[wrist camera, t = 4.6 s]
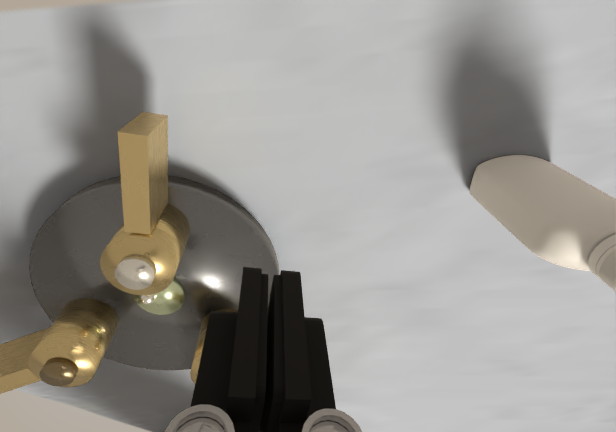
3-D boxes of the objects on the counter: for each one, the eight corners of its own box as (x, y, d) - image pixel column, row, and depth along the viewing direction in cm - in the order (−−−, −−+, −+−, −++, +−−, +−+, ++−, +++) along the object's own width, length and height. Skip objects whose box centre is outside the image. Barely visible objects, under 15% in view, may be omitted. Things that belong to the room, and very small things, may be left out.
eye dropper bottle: (513, 220, 26) (672, 361, 16) (456, 185, 24) (593, 318, 14) (561, 170, 24) (775, 291, 14) (503, 129, 23) (700, 233, 12)
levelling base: (324, 259, 26) (328, 282, 24) (202, 379, 32) (197, 406, 29) (111, 120, 20) (91, 133, 18) (5, 296, 26) (-20, 323, 23)
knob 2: (189, 254, 23) (171, 305, 19) (129, 248, 23) (98, 300, 19) (193, 117, 19) (172, 146, 15) (120, 105, 18) (77, 133, 14)
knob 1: (98, 291, 24) (63, 347, 20) (129, 327, 26) (103, 385, 22) (-16, 331, 25) (-71, 392, 21) (22, 363, 27) (-22, 425, 23)
